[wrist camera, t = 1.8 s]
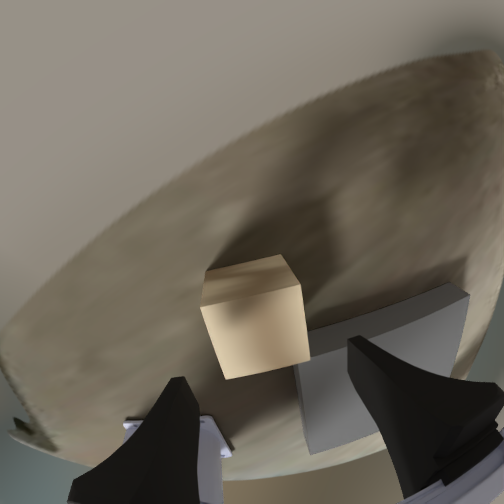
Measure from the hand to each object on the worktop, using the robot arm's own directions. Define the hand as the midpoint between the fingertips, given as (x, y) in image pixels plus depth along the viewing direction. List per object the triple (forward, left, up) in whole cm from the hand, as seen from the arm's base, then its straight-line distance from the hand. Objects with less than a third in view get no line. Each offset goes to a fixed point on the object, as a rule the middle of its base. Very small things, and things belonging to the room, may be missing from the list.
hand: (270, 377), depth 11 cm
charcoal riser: (+10, -11, -8) cm, 17 cm away
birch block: (0, 0, -8) cm, 8 cm away
